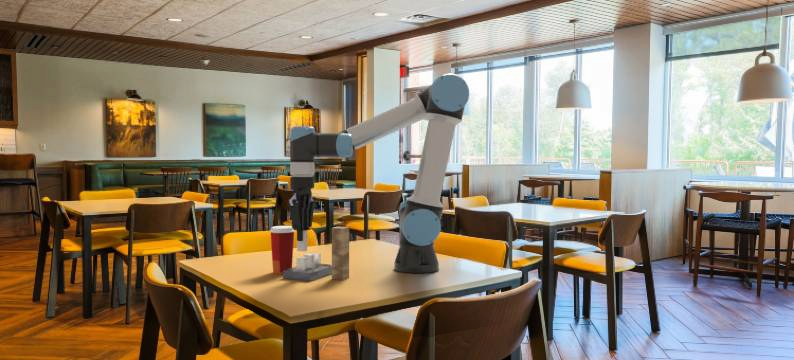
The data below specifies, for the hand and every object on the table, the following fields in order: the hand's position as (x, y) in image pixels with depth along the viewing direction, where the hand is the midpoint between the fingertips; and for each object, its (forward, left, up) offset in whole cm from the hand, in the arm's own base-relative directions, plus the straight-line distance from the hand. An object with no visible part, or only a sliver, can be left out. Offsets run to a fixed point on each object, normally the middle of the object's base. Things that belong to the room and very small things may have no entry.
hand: (302, 250), depth 184 cm
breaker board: (0, -4, -9) cm, 9 cm away
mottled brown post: (-11, -5, -9) cm, 15 cm away
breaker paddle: (0, -4, -6) cm, 7 cm away
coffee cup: (+11, -5, -9) cm, 15 cm away
